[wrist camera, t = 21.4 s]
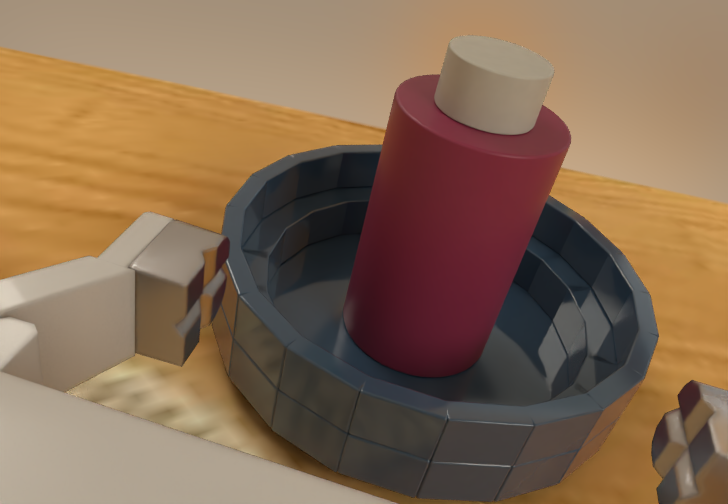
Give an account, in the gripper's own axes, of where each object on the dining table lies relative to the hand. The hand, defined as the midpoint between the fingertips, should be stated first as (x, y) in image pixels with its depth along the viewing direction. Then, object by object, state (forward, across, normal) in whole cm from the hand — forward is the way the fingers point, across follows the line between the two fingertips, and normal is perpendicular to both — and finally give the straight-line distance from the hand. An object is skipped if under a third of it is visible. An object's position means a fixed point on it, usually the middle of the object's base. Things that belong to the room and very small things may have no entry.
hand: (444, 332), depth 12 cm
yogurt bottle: (+11, 0, +9) cm, 14 cm away
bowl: (+11, 0, +10) cm, 15 cm away
